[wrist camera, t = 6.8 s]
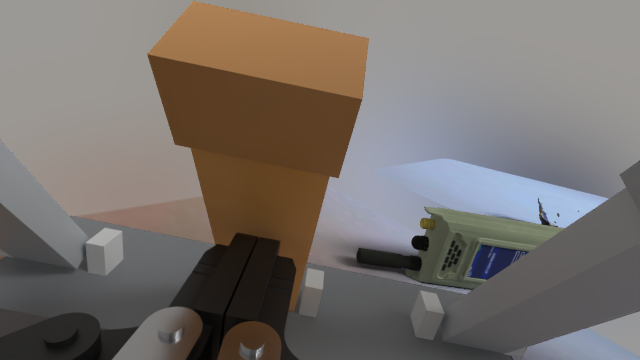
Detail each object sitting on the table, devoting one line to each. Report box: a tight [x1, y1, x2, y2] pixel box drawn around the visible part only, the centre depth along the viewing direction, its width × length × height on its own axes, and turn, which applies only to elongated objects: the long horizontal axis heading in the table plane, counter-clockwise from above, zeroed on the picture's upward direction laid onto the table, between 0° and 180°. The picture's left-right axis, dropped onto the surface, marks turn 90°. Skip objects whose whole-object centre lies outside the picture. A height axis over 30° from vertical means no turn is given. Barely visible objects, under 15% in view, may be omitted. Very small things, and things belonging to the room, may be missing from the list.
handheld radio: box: [356, 207, 565, 289], centre depth 29 cm, size 7×3×25 cm
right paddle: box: [441, 161, 640, 354], centre depth 13 cm, size 4×2×15 cm, turn 87°
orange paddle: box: [147, 1, 369, 312], centre depth 13 cm, size 4×2×15 cm, turn 87°
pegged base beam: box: [0, 216, 527, 360], centre depth 19 cm, size 30×8×5 cm, turn 87°
